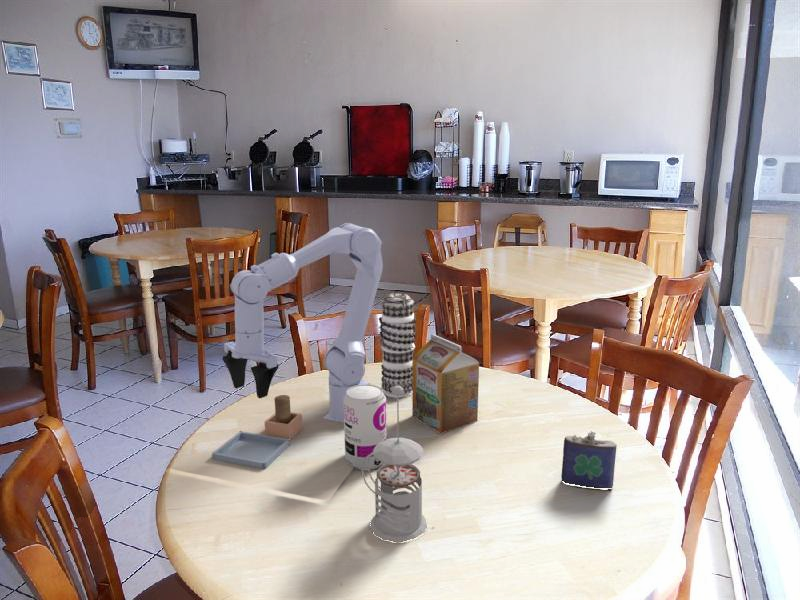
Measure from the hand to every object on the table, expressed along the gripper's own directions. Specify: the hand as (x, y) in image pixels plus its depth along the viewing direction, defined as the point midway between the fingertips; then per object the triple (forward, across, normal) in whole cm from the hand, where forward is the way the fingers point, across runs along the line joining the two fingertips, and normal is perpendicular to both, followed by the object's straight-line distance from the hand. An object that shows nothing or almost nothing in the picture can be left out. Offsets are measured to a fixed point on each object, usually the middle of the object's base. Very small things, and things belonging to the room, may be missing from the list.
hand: (250, 391), depth 128 cm
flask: (+8, +63, +26) cm, 69 cm away
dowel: (+10, +4, +6) cm, 12 cm away
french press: (+10, +42, -4) cm, 44 cm away
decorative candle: (+9, +10, +39) cm, 41 cm away
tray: (+11, +5, -4) cm, 13 cm away
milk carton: (+9, +27, +33) cm, 44 cm away
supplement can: (+10, +25, +8) cm, 29 cm away
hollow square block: (+10, +4, +6) cm, 13 cm away
